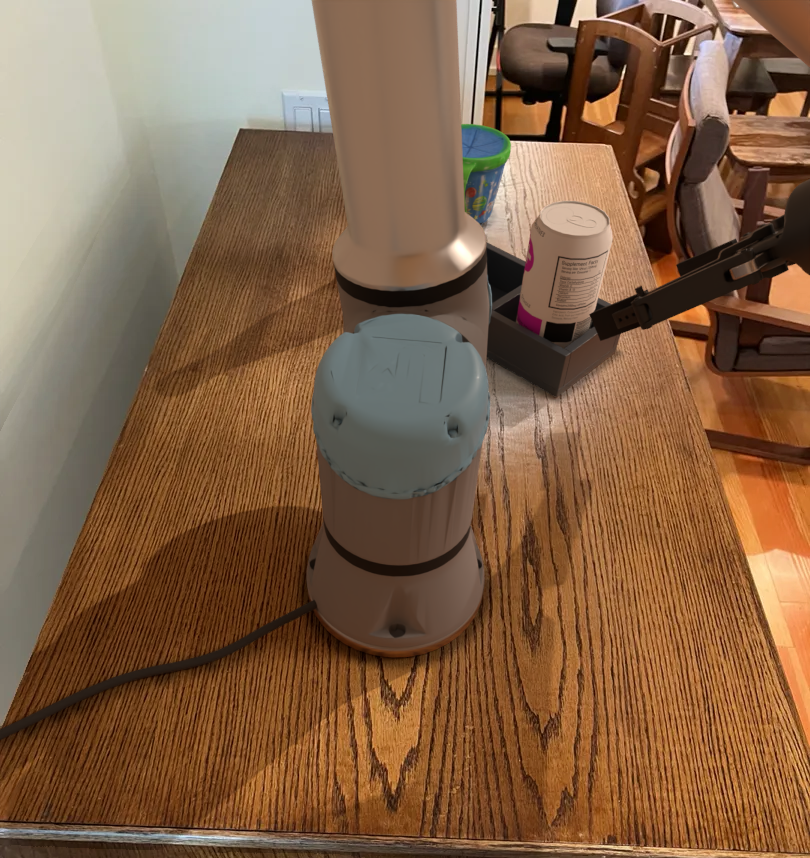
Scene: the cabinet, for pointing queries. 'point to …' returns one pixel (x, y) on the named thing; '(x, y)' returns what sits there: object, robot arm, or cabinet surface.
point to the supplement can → (564, 270)
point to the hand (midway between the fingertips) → (641, 300)
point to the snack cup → (482, 168)
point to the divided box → (527, 348)
